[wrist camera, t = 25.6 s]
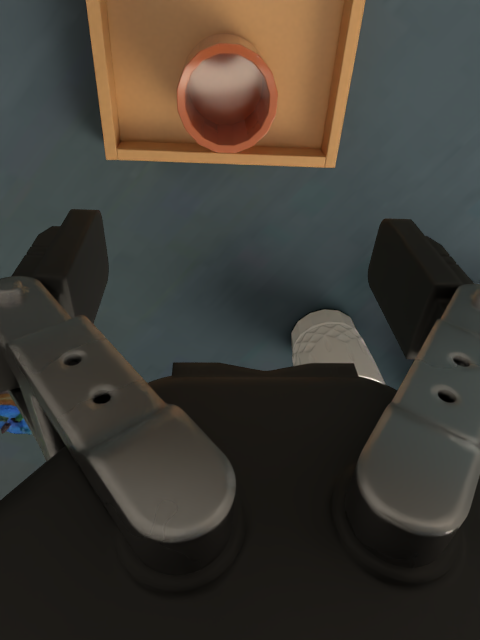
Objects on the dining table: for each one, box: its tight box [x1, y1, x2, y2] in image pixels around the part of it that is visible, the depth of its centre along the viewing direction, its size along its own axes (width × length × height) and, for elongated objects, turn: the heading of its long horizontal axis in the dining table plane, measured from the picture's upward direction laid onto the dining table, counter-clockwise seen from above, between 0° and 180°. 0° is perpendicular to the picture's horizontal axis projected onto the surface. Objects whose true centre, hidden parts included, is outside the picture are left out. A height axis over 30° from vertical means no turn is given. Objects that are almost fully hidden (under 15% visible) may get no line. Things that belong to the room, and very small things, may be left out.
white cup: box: [291, 309, 386, 385], centre depth 43 cm, size 8×8×10 cm
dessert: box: [0, 391, 32, 435], centre depth 50 cm, size 8×7×6 cm
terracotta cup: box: [177, 33, 278, 153], centre depth 29 cm, size 6×6×6 cm
